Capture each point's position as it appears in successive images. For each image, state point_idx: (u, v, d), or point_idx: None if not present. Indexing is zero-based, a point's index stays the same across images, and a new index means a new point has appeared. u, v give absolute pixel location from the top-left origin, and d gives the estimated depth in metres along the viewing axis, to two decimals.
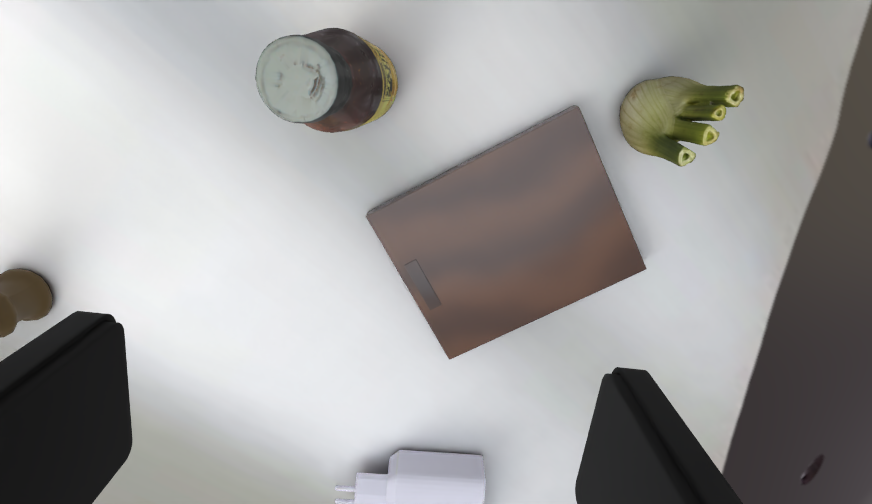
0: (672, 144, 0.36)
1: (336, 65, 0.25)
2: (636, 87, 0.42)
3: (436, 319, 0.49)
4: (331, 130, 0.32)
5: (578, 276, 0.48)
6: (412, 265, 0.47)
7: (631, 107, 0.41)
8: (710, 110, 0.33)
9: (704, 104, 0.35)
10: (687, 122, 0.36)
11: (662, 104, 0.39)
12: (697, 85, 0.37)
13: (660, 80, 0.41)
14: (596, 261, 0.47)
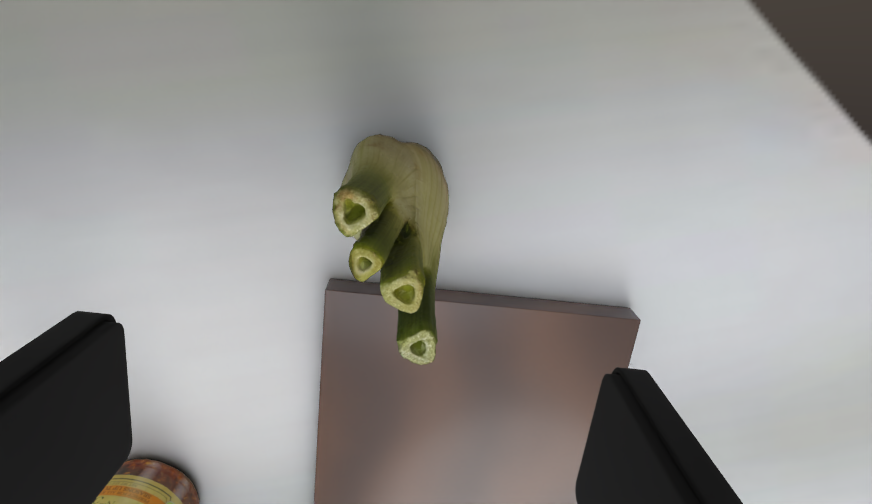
0: None
1: None
2: None
3: None
4: None
5: (575, 411, 0.29)
6: None
7: None
8: (352, 270, 0.15)
9: None
10: None
11: None
12: (352, 176, 0.19)
13: (347, 173, 0.23)
14: (573, 378, 0.28)
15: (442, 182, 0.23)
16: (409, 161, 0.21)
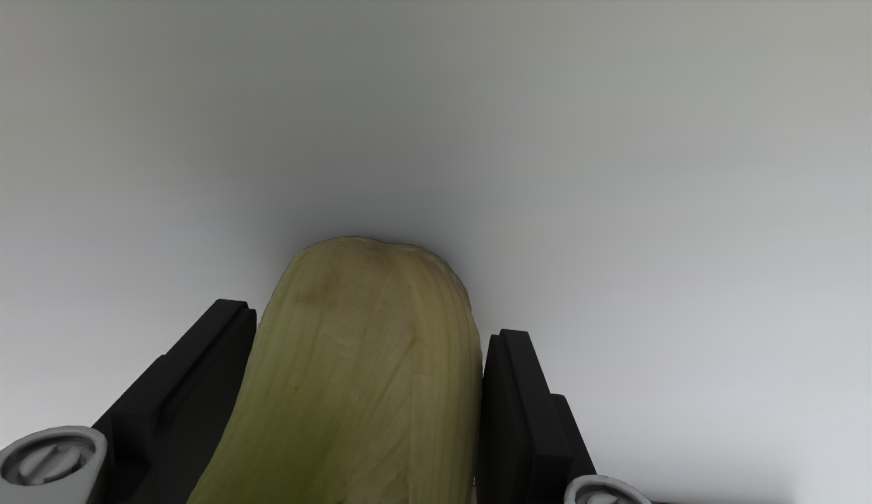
0: None
1: None
2: None
3: None
4: None
5: None
6: None
7: None
8: None
9: None
10: None
11: None
12: None
13: None
14: None
15: (471, 346, 0.11)
16: (397, 323, 0.09)
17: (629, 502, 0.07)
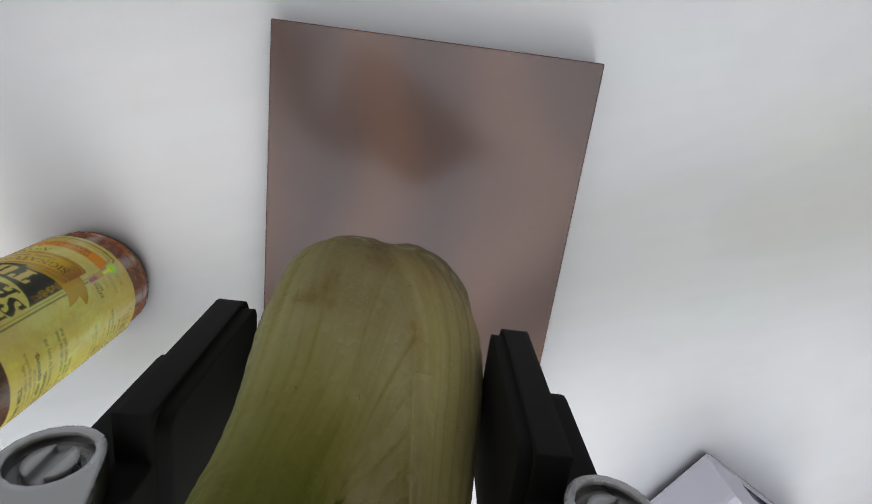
0: None
1: None
2: None
3: None
4: None
5: (537, 175, 0.27)
6: None
7: None
8: None
9: None
10: None
11: None
12: None
13: None
14: (534, 134, 0.27)
15: (471, 345, 0.11)
16: (397, 322, 0.09)
17: (629, 502, 0.07)
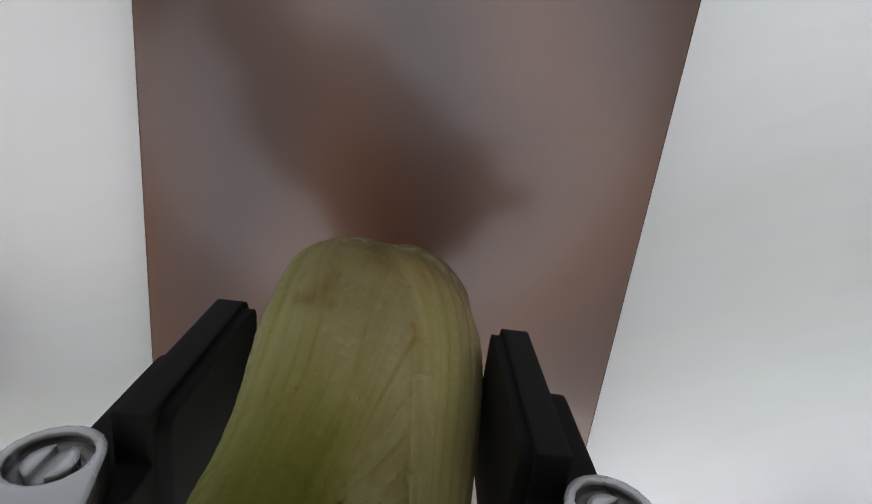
0: None
1: None
2: None
3: None
4: None
5: (588, 161, 0.16)
6: None
7: None
8: None
9: None
10: None
11: None
12: None
13: None
14: (585, 92, 0.16)
15: (471, 345, 0.11)
16: (397, 322, 0.09)
17: (629, 502, 0.07)
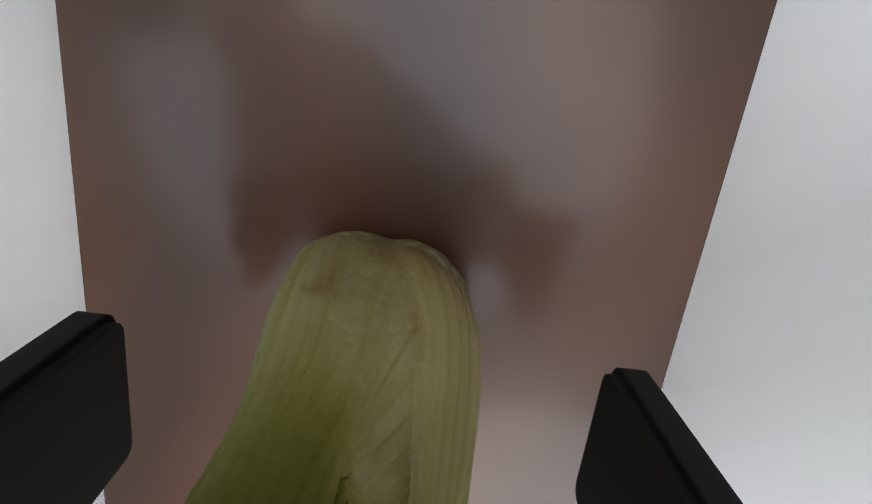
0: None
1: None
2: None
3: None
4: None
5: (632, 186, 0.13)
6: None
7: None
8: None
9: None
10: None
11: None
12: None
13: None
14: (630, 100, 0.12)
15: (470, 336, 0.11)
16: (399, 313, 0.10)
17: None
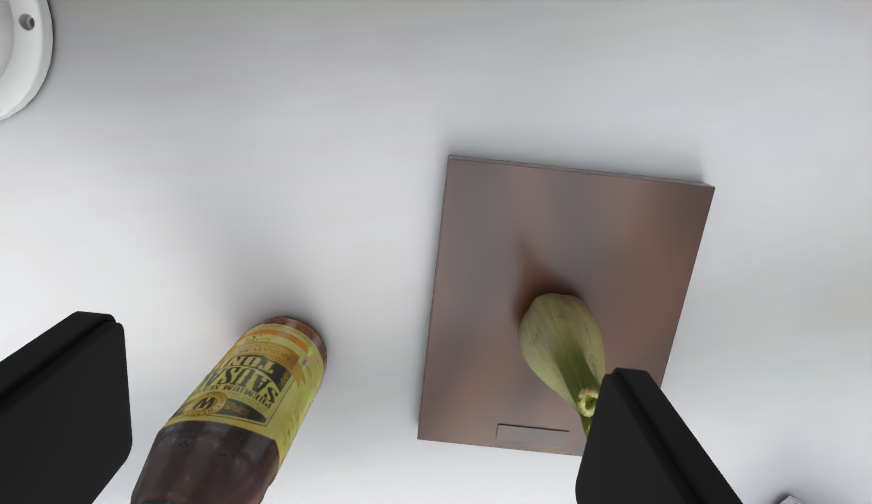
0: None
1: None
2: (519, 343, 0.33)
3: (581, 446, 0.37)
4: None
5: (656, 273, 0.33)
6: (502, 431, 0.37)
7: (535, 372, 0.32)
8: (585, 435, 0.23)
9: None
10: None
11: (551, 374, 0.29)
12: (556, 348, 0.27)
13: (529, 324, 0.31)
14: (655, 241, 0.33)
15: (599, 331, 0.31)
16: (581, 324, 0.30)
17: None
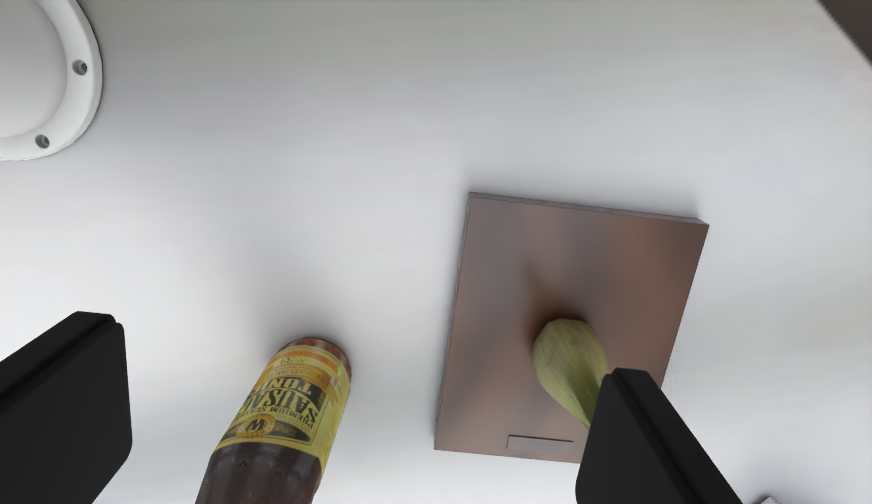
0: None
1: None
2: (532, 364, 0.36)
3: None
4: None
5: (655, 300, 0.37)
6: (512, 442, 0.40)
7: (547, 391, 0.35)
8: None
9: None
10: None
11: (564, 395, 0.32)
12: (571, 373, 0.31)
13: (542, 348, 0.35)
14: (654, 272, 0.36)
15: (605, 355, 0.35)
16: (591, 349, 0.33)
17: None
